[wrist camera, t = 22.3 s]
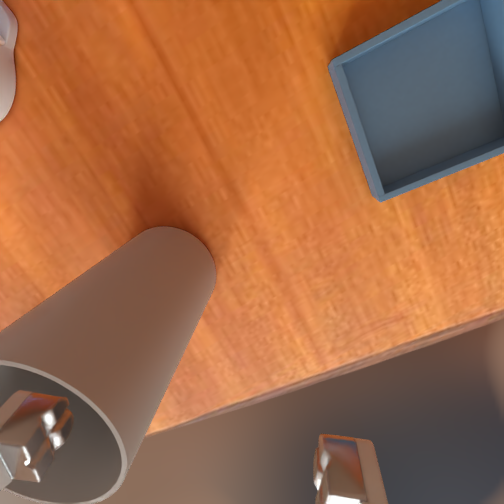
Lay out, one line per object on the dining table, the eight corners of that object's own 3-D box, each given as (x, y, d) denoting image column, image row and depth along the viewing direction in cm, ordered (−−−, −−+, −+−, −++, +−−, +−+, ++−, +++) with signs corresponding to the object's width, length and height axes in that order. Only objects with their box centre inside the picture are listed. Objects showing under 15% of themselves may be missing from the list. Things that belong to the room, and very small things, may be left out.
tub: (327, 66, 31) (331, 59, 28) (482, -17, 28) (506, -36, 24) (372, 196, 35) (380, 202, 32) (512, 138, 32) (536, 140, 29)
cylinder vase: (229, 245, 40) (146, 407, 17) (203, 320, 45) (109, 528, 21) (137, 210, 39) (-79, 327, 16) (120, 290, 44) (-65, 467, 21)
